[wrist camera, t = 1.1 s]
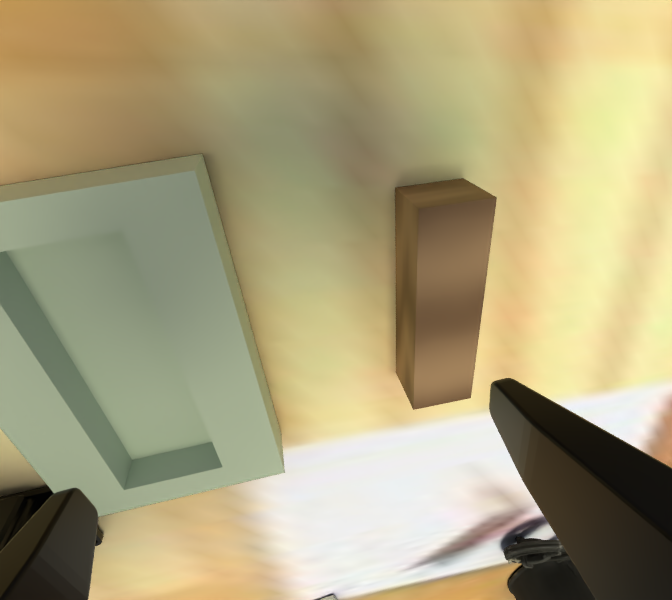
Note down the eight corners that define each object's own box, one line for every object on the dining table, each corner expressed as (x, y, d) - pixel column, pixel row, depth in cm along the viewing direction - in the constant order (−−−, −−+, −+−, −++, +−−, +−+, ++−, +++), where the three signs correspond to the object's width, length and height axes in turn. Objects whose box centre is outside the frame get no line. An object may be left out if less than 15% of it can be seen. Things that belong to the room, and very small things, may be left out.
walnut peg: (446, 360, 27) (470, 397, 24) (394, 370, 26) (413, 409, 23) (460, 176, 20) (496, 197, 17) (393, 186, 20) (418, 208, 17)
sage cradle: (281, 433, 27) (284, 472, 24) (94, 476, 26) (77, 521, 23) (202, 153, 17) (194, 170, 15) (-100, 201, 16) (-165, 228, 14)
